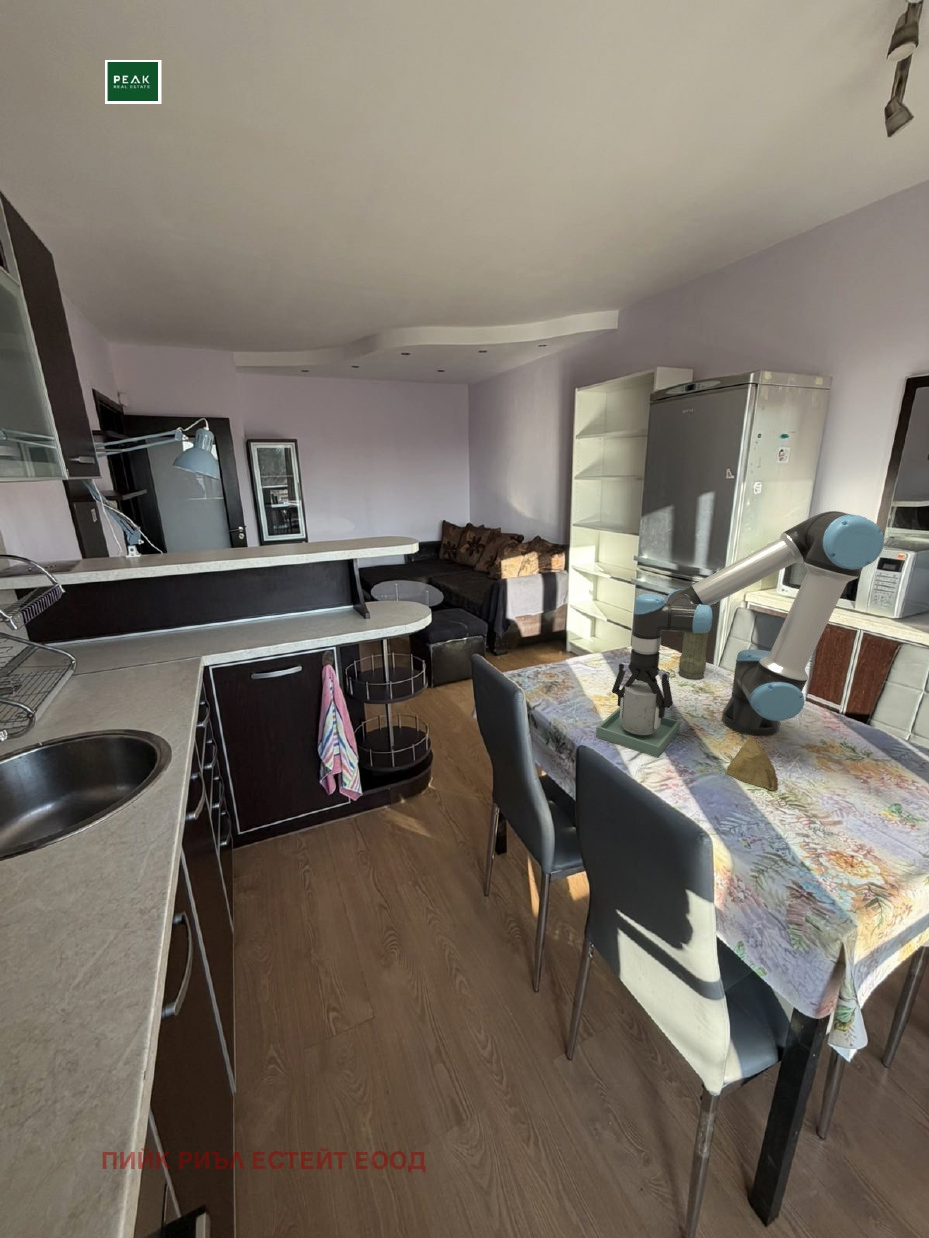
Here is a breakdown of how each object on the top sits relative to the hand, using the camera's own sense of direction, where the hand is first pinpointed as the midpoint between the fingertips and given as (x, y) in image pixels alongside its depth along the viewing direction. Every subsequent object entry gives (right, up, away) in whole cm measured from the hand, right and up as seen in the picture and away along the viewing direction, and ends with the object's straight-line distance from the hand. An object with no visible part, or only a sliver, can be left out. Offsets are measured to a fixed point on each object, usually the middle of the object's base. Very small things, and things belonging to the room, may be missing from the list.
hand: (639, 721), depth 148 cm
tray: (0, -4, +1) cm, 4 cm away
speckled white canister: (0, -2, +1) cm, 2 cm away
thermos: (+33, +9, +41) cm, 53 cm away
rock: (+21, -11, -21) cm, 32 cm away
